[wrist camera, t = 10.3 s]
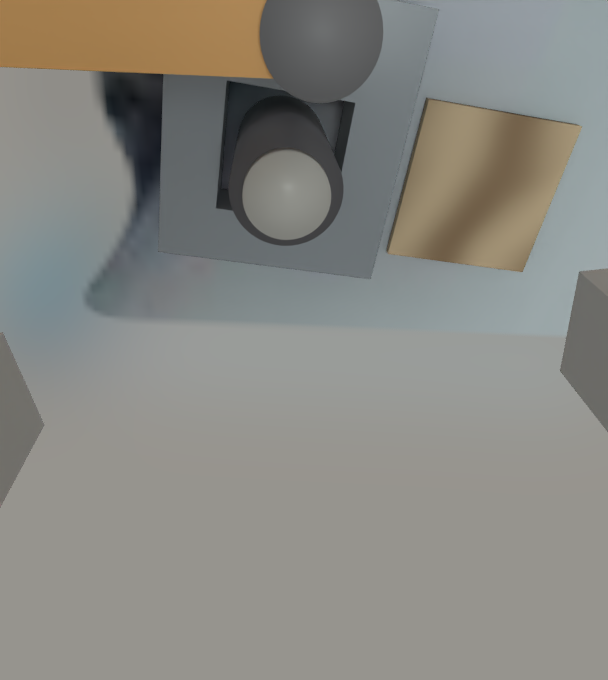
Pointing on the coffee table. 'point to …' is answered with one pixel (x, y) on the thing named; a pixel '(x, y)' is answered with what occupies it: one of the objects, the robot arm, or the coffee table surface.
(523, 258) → the coaster
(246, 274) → the coffee table surface
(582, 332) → the robot arm
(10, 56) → the wooden handle
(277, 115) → the plug
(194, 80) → the socket
